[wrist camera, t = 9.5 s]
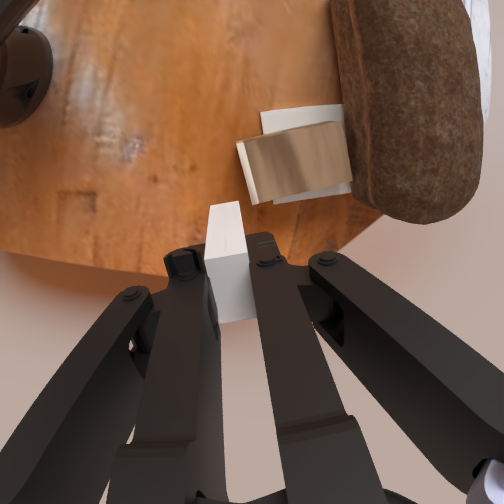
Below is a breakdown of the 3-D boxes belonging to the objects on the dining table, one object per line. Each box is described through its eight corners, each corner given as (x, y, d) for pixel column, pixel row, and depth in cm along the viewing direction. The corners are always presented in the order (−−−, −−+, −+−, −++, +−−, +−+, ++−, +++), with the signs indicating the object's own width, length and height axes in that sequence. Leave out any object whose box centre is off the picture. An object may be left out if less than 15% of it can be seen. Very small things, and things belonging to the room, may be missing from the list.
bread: (344, 205, 42) (401, 253, 28) (318, -22, 29) (365, -76, 15) (431, 195, 43) (501, 234, 28) (412, -9, 30) (481, -39, 15)
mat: (273, 203, 42) (274, 204, 42) (259, 112, 37) (260, 112, 37) (384, 187, 42) (385, 188, 42) (377, 102, 37) (379, 102, 37)
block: (252, 205, 36) (352, 181, 36) (236, 145, 33) (341, 122, 33) (249, 194, 41) (339, 172, 40) (235, 141, 38) (329, 120, 38)
